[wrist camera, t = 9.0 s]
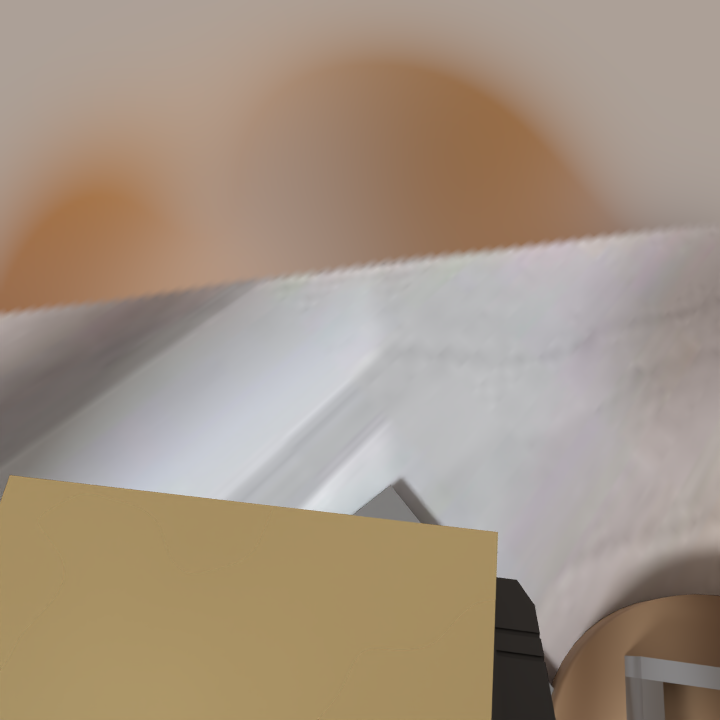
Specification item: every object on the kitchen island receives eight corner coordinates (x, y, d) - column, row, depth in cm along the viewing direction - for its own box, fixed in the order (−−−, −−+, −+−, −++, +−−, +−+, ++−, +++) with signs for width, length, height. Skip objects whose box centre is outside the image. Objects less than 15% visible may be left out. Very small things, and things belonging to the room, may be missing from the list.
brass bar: (253, 760, 14) (-231, 1157, 3) (280, 594, 16) (9, 474, 5) (409, 784, 14) (469, 1324, 3) (423, 613, 15) (498, 532, 4)
